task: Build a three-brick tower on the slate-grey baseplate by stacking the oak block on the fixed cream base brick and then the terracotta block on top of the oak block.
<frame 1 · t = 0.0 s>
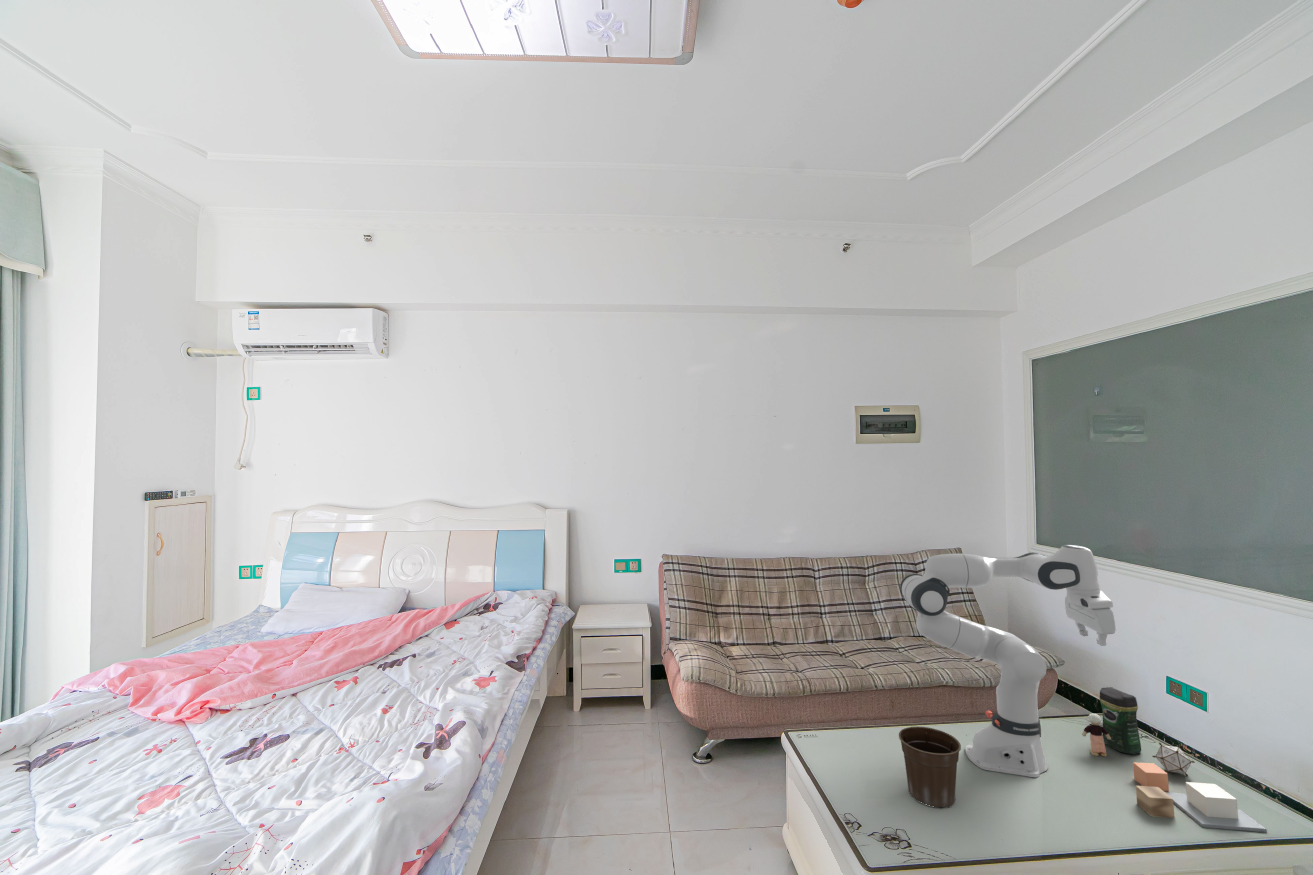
hand: (1092, 640, 173), 39 cm above the table, tool pointing down, fingers open, 8 cm apart
terracotta brick: (1151, 785, 160), on the table
baseplate: (1212, 812, 147), on the table
game die: (1174, 773, 166), on the table
grandmother figurine: (1097, 754, 178), on the table
coffee jar: (1121, 748, 181), on the table
plant pot: (932, 796, 159), on the table
oak brick: (1155, 810, 149), on the table
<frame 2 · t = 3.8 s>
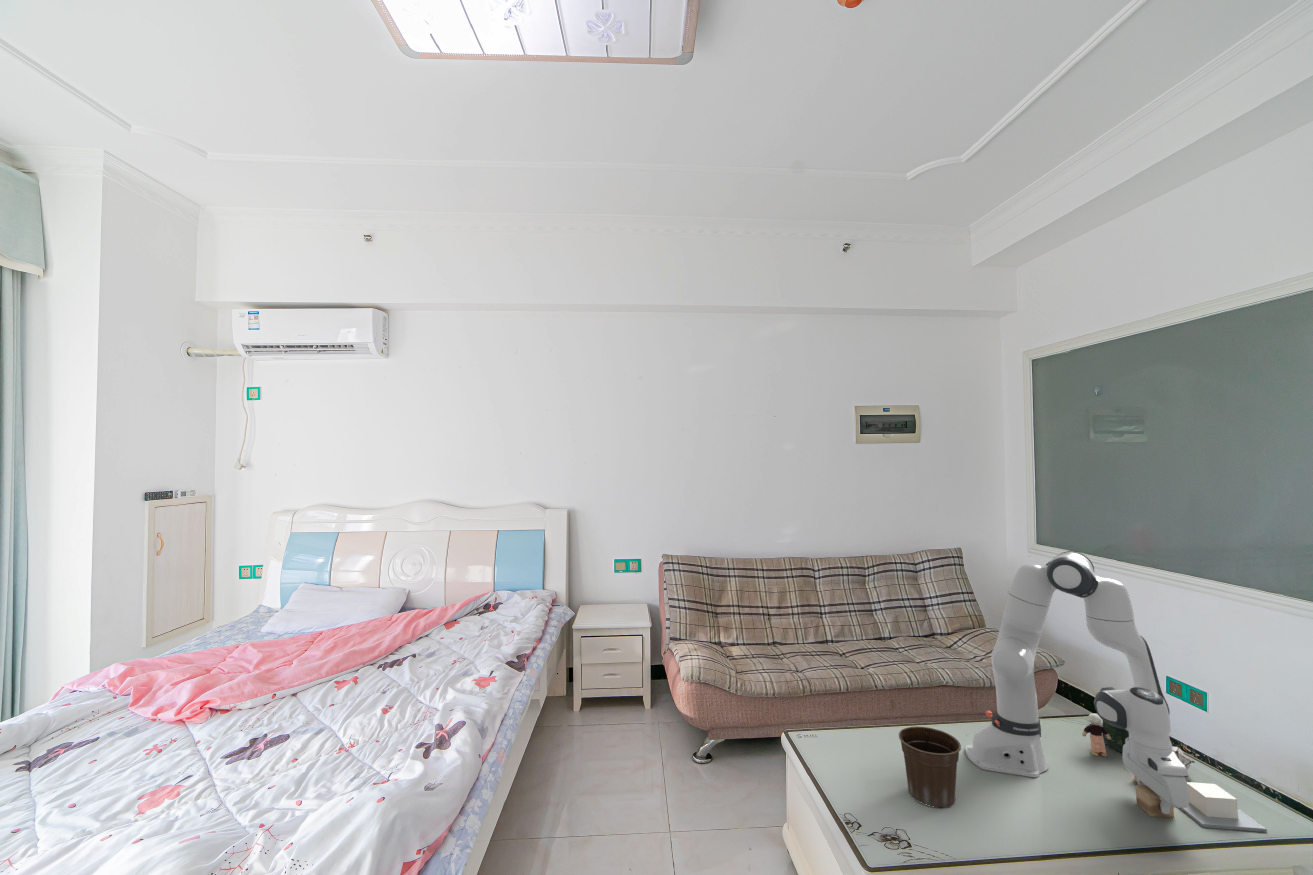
hand: (1155, 804, 149), 2 cm above the table, tool pointing down, fingers closed on oak brick, 5 cm apart
oak brick: (1155, 810, 149), on the table, touching gripper
everything else where it was.
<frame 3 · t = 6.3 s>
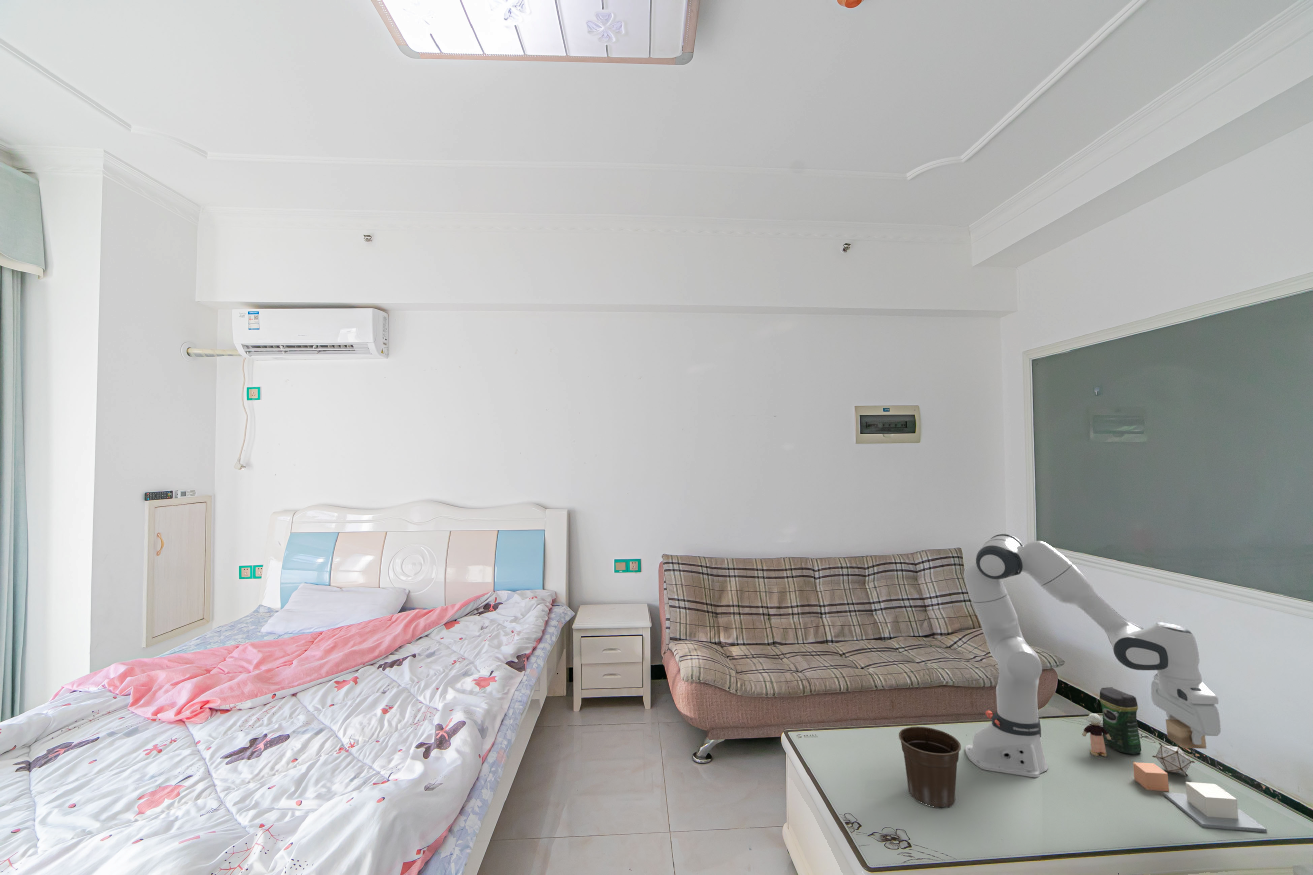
hand: (1186, 736, 148), 20 cm above the table, tool pointing down, fingers closed on oak brick, 5 cm apart
oak brick: (1186, 742, 148), point 18 cm above the table, touching gripper
everything else where it was.
when the fingers open (8 cm above the table, at t = 9.2 s): oak brick stays where it is, resting on baseplate.
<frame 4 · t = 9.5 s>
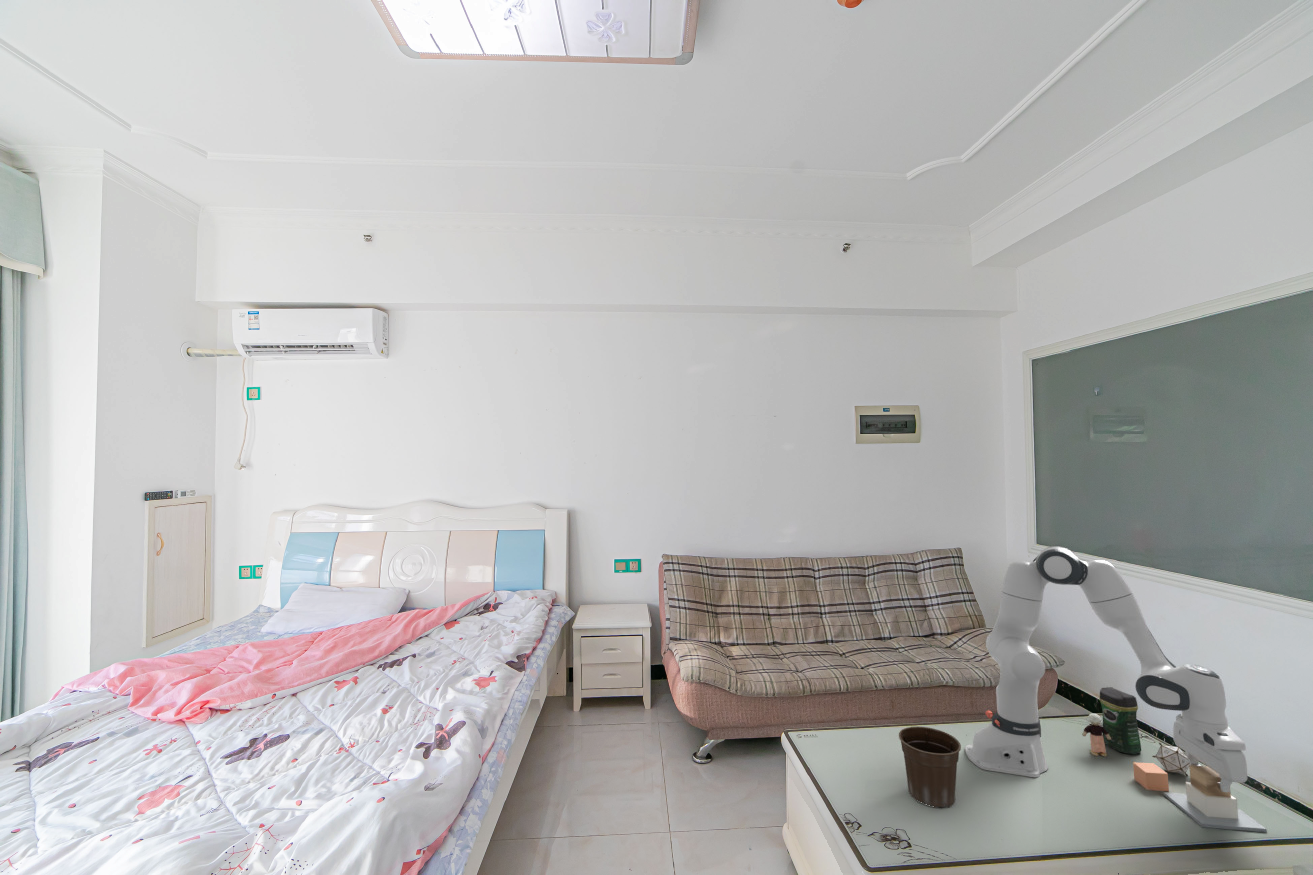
hand: (1209, 780, 148), 8 cm above the table, tool pointing down, fingers open, 8 cm apart
oak brick: (1210, 790, 148), point 6 cm above the table, touching baseplate
everything else where it was.
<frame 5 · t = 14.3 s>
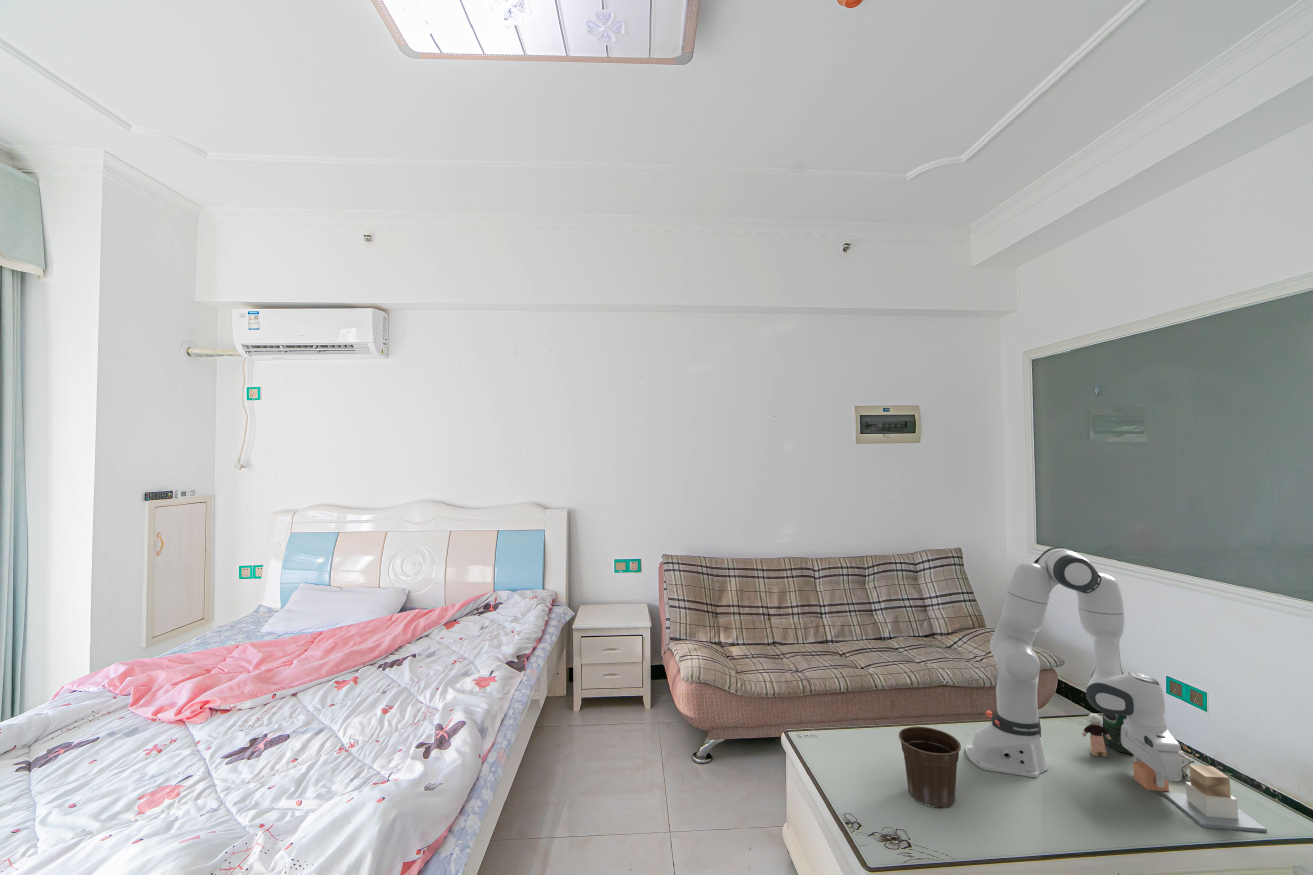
hand: (1150, 778, 161), 2 cm above the table, tool pointing down, fingers closed on terracotta brick, 5 cm apart
terracotta brick: (1151, 784, 161), on the table, touching gripper
everything else where it was.
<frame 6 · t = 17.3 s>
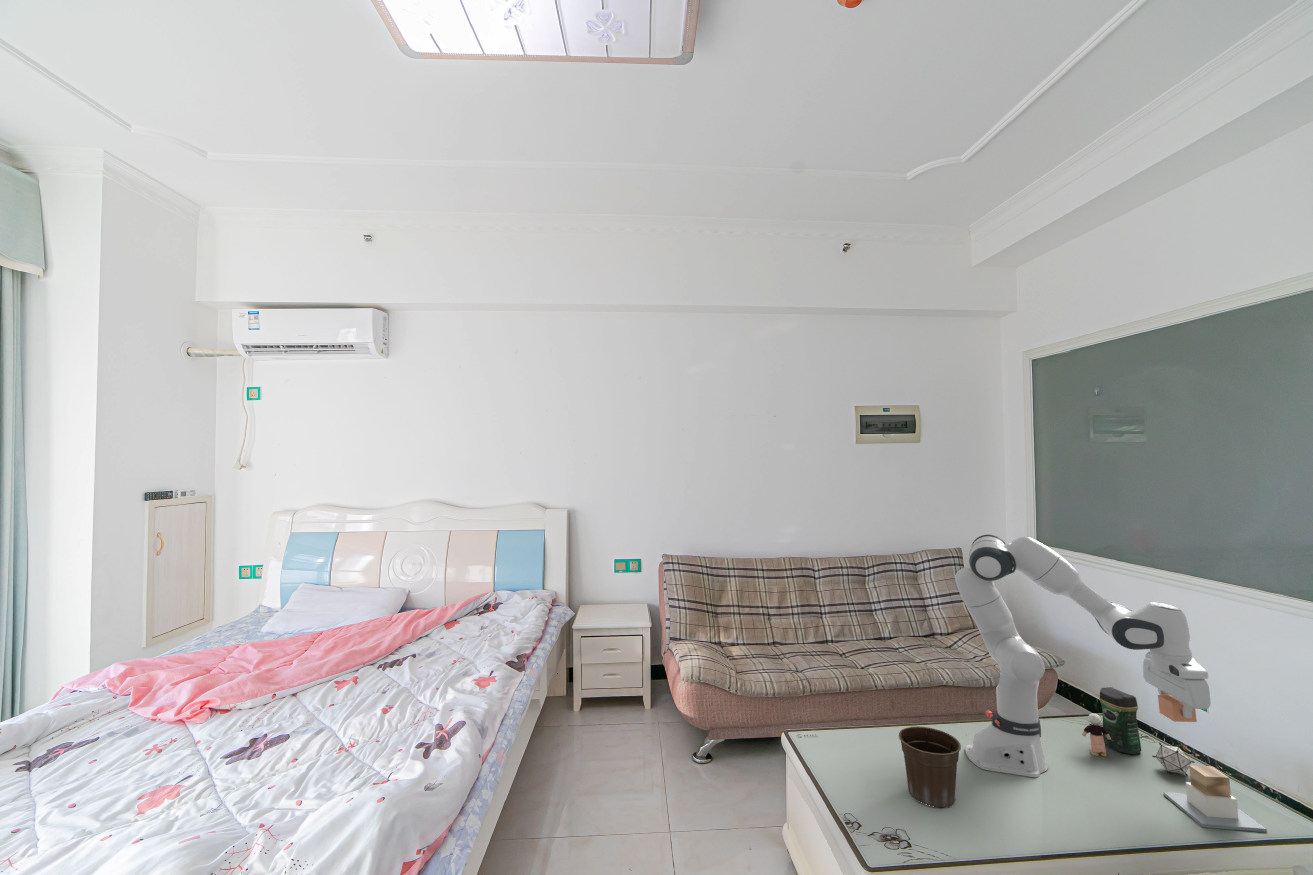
hand: (1177, 711, 155), 24 cm above the table, tool pointing down, fingers closed on terracotta brick, 5 cm apart
terracotta brick: (1177, 717, 155), point 22 cm above the table, touching gripper
everything else where it was.
when the fingers open (13 cm above the table, at t = 20.0 s): terracotta brick stays where it is, resting on oak brick.
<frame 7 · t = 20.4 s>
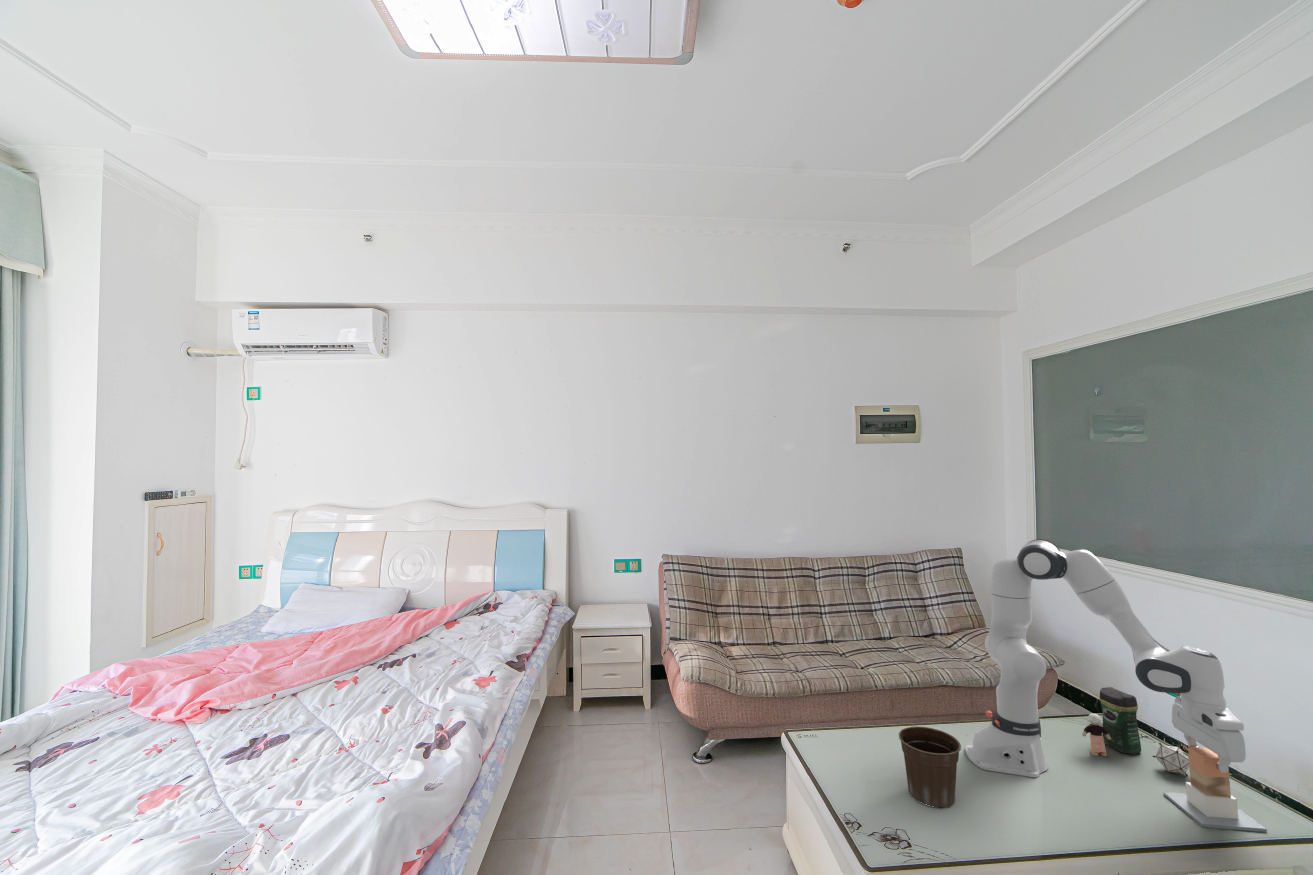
hand: (1207, 761, 148), 13 cm above the table, tool pointing down, fingers open, 8 cm apart
terracotta brick: (1209, 771, 148), point 11 cm above the table, touching oak brick
oak brick: (1210, 790, 148), point 6 cm above the table, touching baseplate, terracotta brick
everything else where it was.
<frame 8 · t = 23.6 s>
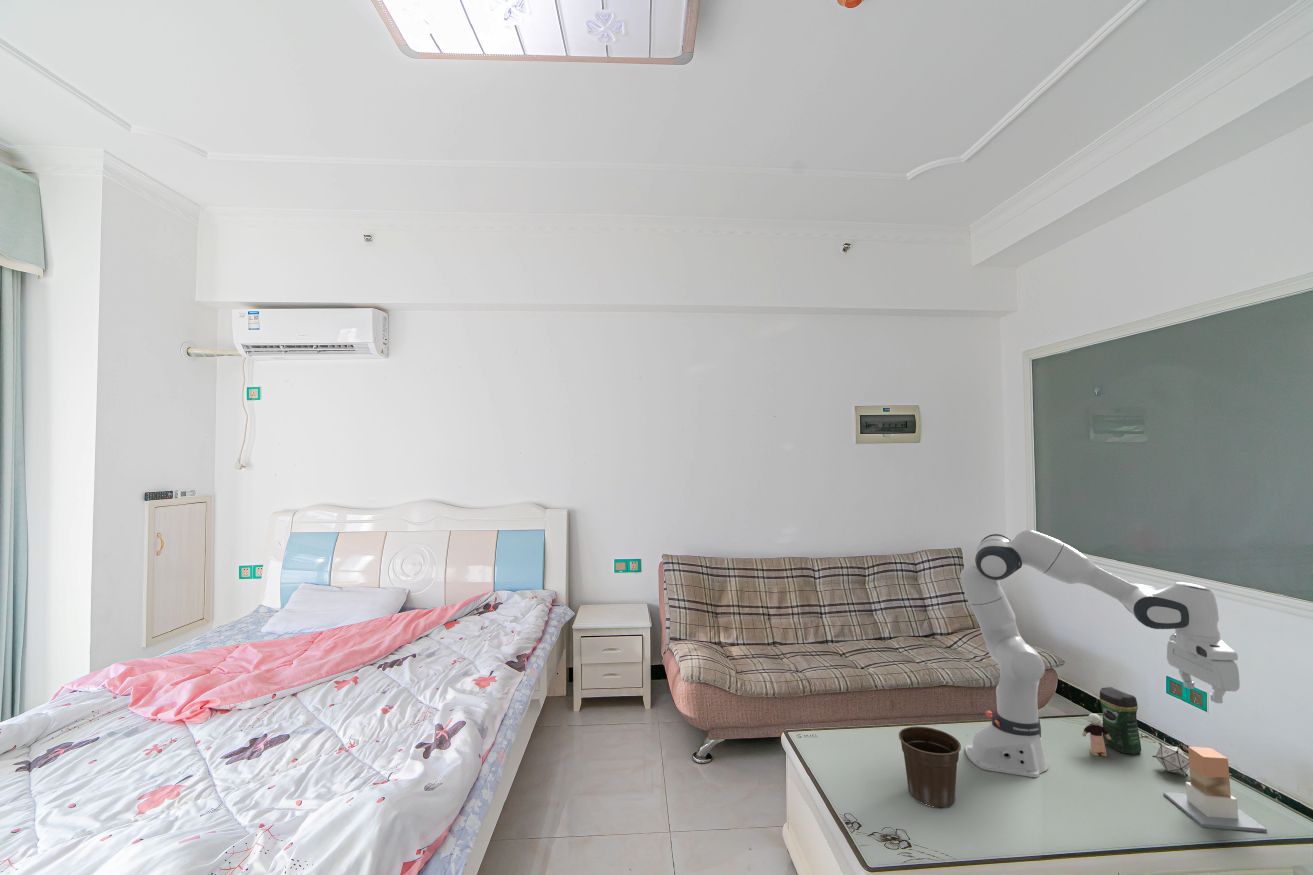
hand: (1202, 694, 149), 31 cm above the table, tool pointing down, fingers open, 8 cm apart
nothing on the table moved.
at the end: oak brick 0.0 cm off-centre on the baseplate, point 5.8 cm above the baseplate's base; terracotta brick 0.0 cm off-centre on the baseplate, point 10.8 cm above the baseplate's base; terracotta brick tilted 0° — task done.
